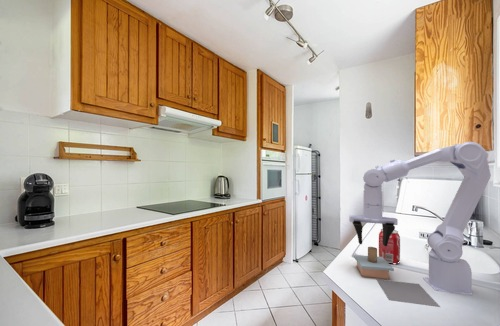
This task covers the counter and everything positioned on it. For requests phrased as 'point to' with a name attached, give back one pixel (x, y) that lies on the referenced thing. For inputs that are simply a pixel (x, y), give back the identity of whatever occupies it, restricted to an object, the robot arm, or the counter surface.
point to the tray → (373, 273)
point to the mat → (406, 292)
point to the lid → (373, 261)
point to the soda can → (390, 247)
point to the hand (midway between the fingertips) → (372, 244)
